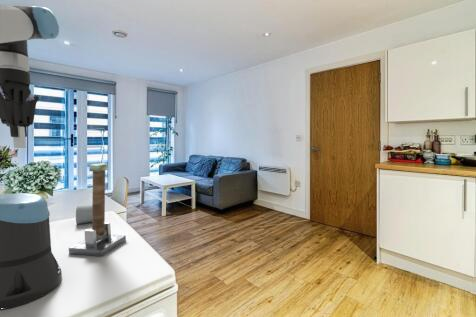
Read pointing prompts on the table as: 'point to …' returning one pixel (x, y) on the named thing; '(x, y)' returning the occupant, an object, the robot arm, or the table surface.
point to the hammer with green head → (98, 200)
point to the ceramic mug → (83, 214)
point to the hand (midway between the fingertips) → (20, 147)
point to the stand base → (97, 243)
